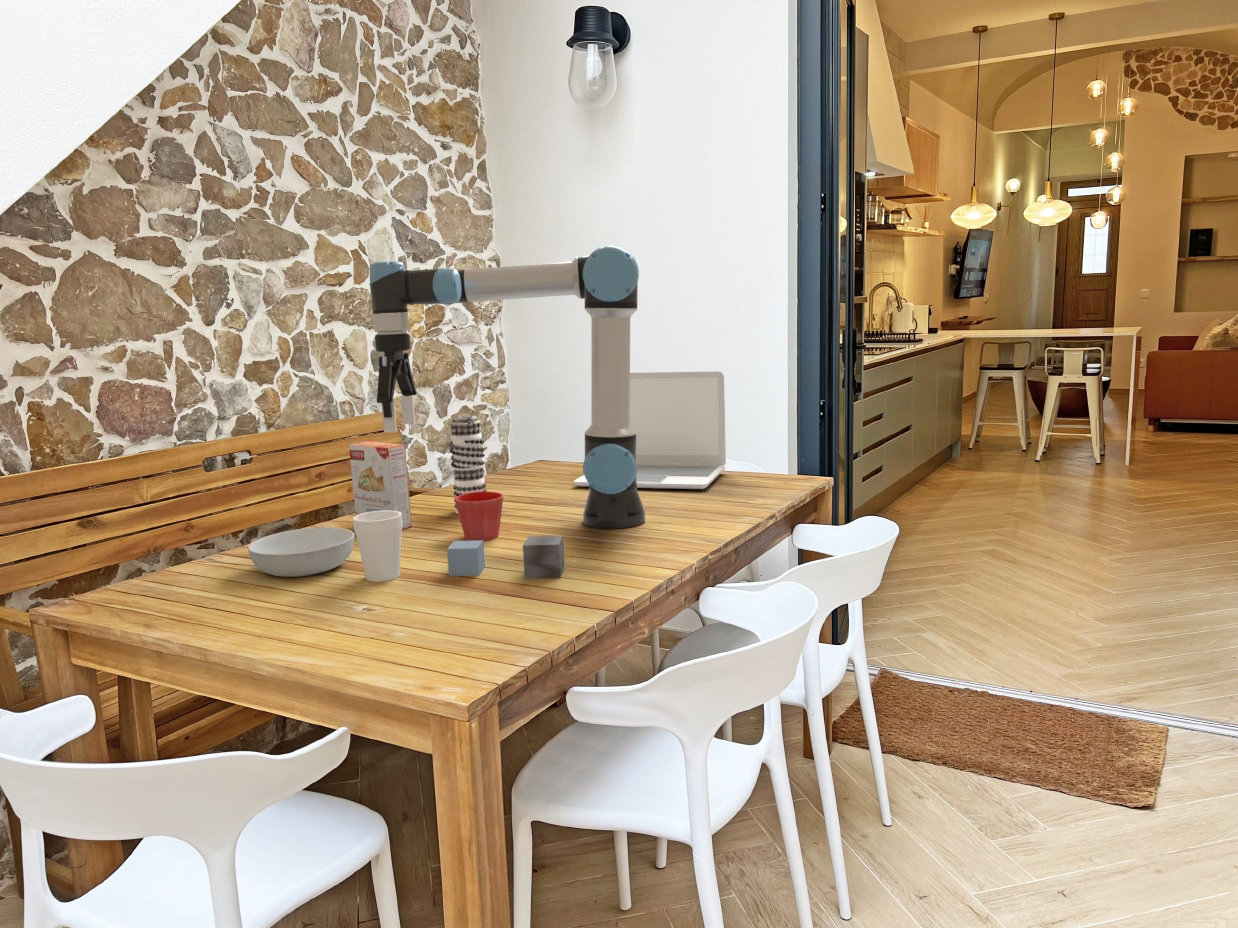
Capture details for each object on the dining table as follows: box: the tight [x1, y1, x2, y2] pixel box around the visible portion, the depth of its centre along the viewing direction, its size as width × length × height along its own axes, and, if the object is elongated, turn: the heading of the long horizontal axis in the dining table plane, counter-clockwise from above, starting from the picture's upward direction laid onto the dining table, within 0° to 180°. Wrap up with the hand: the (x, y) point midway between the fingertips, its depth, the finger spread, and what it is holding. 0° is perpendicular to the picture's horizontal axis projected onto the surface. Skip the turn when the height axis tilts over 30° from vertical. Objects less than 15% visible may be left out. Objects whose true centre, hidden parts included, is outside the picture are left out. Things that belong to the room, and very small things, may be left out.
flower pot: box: [454, 491, 504, 541], centre depth 212 cm, size 11×11×10 cm
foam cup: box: [352, 510, 403, 583], centre depth 181 cm, size 10×9×13 cm
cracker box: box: [348, 440, 413, 531], centre depth 225 cm, size 14×6×21 cm, turn 57°
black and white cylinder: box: [448, 414, 487, 515], centre depth 238 cm, size 9×9×25 cm
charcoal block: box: [522, 535, 566, 580], centre depth 181 cm, size 7×7×7 cm
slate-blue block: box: [446, 540, 486, 577], centre depth 184 cm, size 6×6×6 cm
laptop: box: [573, 370, 727, 490], centre depth 273 cm, size 40×31×31 cm
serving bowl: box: [247, 526, 356, 578], centre depth 190 cm, size 21×21×7 cm
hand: (400, 428), depth 207 cm, fingers open, 13 cm apart
